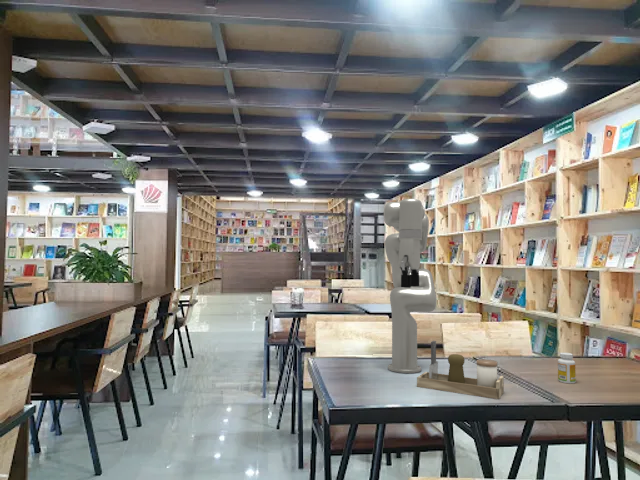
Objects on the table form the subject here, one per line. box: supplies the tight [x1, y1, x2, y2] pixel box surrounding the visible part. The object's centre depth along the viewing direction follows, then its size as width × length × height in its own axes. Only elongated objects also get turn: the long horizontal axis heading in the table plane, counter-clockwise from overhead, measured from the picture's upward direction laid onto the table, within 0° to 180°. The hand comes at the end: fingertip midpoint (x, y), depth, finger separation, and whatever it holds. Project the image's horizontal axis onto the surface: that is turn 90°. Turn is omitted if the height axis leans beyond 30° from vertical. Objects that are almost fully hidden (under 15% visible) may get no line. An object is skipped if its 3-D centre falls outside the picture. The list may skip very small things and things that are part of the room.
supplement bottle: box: [557, 352, 577, 384], centre depth 155 cm, size 5×5×10 cm
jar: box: [476, 358, 498, 388], centre depth 140 cm, size 6×6×10 cm
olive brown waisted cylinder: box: [447, 353, 466, 384], centre depth 145 cm, size 6×6×11 cm
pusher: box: [428, 340, 439, 380], centre depth 148 cm, size 7×1×14 cm, turn 149°
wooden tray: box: [416, 371, 505, 400], centre depth 144 cm, size 9×25×5 cm, turn 59°
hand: (410, 286), depth 149 cm, fingers open, 9 cm apart
